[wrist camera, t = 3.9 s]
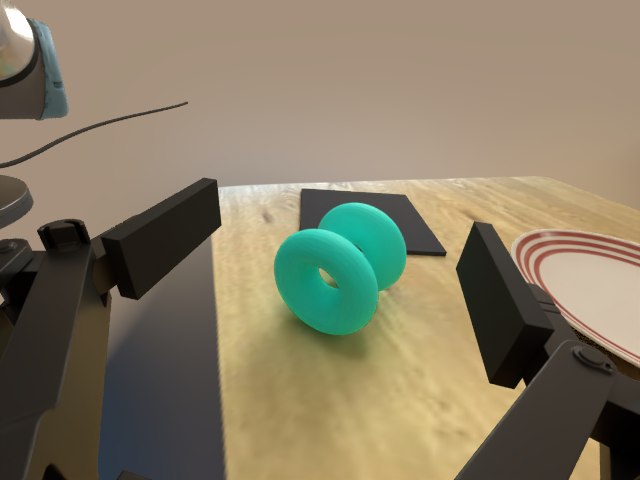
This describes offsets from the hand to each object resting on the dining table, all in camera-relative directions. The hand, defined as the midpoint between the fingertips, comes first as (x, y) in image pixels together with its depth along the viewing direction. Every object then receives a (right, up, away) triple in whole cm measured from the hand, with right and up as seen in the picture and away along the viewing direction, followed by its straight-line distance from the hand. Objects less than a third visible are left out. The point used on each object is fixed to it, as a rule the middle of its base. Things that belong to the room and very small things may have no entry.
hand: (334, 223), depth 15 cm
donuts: (+1, -8, +16) cm, 18 cm away
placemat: (+6, +3, +33) cm, 34 cm away
